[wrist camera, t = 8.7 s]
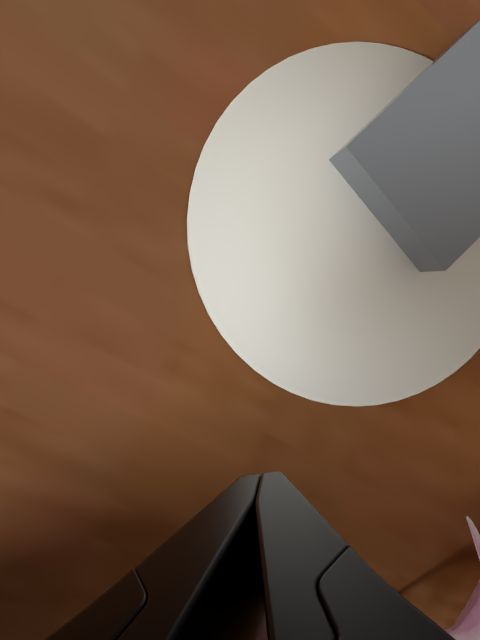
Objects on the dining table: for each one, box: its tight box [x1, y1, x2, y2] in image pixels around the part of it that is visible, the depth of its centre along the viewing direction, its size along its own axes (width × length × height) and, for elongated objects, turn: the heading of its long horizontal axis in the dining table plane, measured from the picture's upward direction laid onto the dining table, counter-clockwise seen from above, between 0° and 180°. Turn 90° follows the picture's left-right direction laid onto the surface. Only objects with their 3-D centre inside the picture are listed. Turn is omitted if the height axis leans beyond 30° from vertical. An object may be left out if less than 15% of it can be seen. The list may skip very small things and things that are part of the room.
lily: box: [443, 516, 480, 640], centre depth 20 cm, size 12×12×10 cm
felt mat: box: [187, 42, 480, 406], centre depth 21 cm, size 17×17×1 cm
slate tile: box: [329, 18, 480, 272], centre depth 20 cm, size 2×7×10 cm
